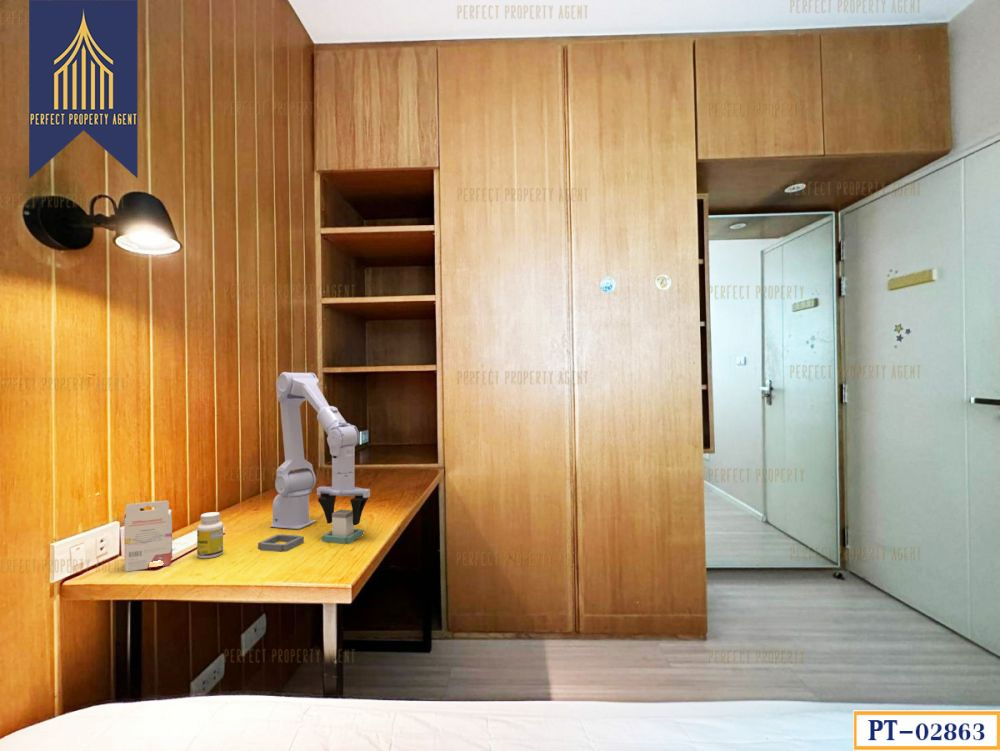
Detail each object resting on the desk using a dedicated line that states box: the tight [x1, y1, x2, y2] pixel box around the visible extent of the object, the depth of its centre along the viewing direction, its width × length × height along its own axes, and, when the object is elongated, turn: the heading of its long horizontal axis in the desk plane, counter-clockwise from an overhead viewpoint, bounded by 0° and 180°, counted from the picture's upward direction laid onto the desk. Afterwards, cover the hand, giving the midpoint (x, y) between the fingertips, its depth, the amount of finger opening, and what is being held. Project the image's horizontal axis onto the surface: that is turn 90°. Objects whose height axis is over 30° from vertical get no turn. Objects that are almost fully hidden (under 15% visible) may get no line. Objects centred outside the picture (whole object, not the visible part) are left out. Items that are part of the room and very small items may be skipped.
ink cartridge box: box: [123, 500, 173, 573], centre depth 114 cm, size 9×5×15 cm, turn 118°
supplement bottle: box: [196, 511, 224, 559], centre depth 121 cm, size 5×5×10 cm
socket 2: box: [321, 528, 365, 544], centre depth 134 cm, size 8×8×2 cm
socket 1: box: [257, 533, 305, 552], centre depth 128 cm, size 8×8×2 cm
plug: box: [331, 509, 355, 537], centre depth 134 cm, size 4×4×7 cm
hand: (343, 523), depth 134 cm, fingers open, 7 cm apart
